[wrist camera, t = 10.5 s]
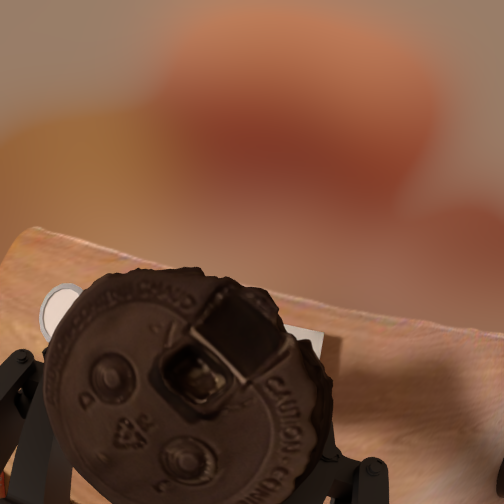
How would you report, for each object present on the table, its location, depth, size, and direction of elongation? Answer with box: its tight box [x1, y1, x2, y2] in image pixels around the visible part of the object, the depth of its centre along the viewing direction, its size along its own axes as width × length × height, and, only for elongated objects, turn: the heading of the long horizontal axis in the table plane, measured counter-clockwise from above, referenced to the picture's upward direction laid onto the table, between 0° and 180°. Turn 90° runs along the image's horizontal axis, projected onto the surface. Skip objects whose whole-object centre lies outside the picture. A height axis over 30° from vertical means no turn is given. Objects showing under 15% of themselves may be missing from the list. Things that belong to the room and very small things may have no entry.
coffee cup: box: [42, 267, 333, 504], centre depth 10 cm, size 9×8×13 cm
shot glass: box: [39, 283, 83, 342], centre depth 24 cm, size 7×7×7 cm
